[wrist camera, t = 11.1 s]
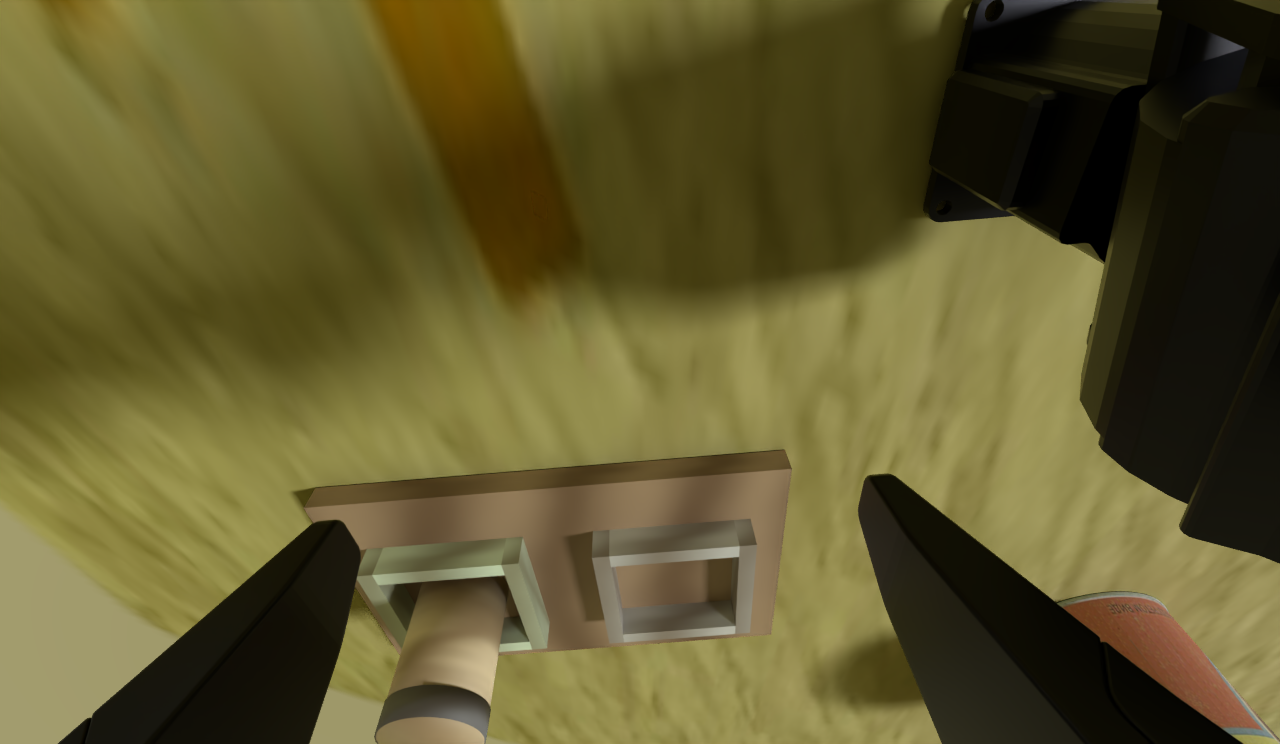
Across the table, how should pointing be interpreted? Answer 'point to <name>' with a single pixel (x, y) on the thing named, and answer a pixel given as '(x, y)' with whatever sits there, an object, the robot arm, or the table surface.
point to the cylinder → (447, 665)
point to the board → (581, 547)
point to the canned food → (1169, 658)
